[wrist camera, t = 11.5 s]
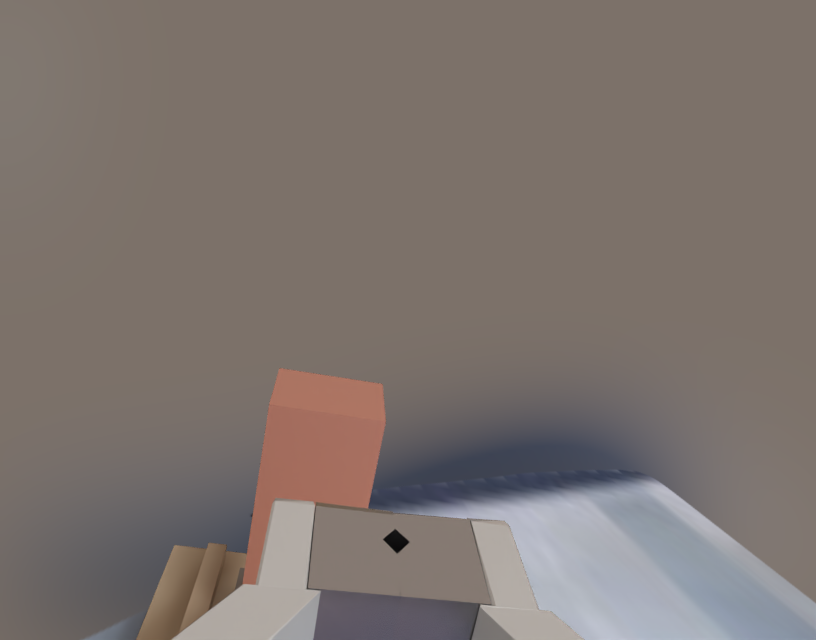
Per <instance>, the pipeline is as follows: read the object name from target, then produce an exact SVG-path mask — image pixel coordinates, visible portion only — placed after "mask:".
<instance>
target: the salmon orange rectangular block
mask: <svg viewBox="0 0 816 640" xmlns="http://www.w3.org/2000/svg"><path fill="white" fill-rule="evenodd" d="M385 424H386V417H385V407H384V395H383V384H379V383H372V382H366V381H359V380H353V379H347V378H340V377H334V376H327V375H321V374H314V373H308V372H301V371H295V370H288V369H282V368H279V372H278V375H277V379H276V382H275V386H274V390H273V393H272V397H271V400H270V404H269V409H268V417H267V423H266V430H265V437H264V443H263V450H262V456H261V463H260V470H259V476H258V483H257V490H256V497H255V503H254V511H253V517H252V524H251V530H250V537H249V543H248V551H247V557H246V564H245V568H240V570H239V574H238V578H237V583H236V587H235V590H236V589H237V588H238V587H240V586H241V585H242V584H251V585H255V584H256V579H257V575H258V570H259V565H260V560H261V555H262V551H263V546H264V541H265V536H266V532H267V527H268V522H269V517H270V512H271V508H272V503H273V501H274V500H275V498H283V499H293V500H303V501H313V502H314V504H315V505H316V502H319V503H327V504H335V505H343V506H351V507H359V508H367V509H368V505H369V500H370V496H371V491H372V486H373V481H374V476H375V471H376V467H377V462H378V457H379V452H380V447H381V442H382V438H383V433H384V428H385Z"/></svg>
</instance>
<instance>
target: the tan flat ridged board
mask: <svg viewBox="0 0 816 640" xmlns="http://www.w3.org/2000/svg"><path fill="white" fill-rule="evenodd" d="M226 548H227V545H224V544H215V543H209V544H208V546H207V549H204V548H195V547H187V546H178V545H174V547H173V550H172V552H171V555H170V557H169V560H168V562H167V565H166V567H165V570H164V572H163V575H162V577H161V579H160V582H159V584H158V587H157V590H156V592H155V594H154V597H153V600H152V602H151V604H150V607H149V609H148V611H147V614H146V616H145V619H144V621H143V624H142V626H141V629H140V631H139V634H138V636H137V639H136V640H171V639H172V638H174V637H175V636H176V635H178V634H179V633H180V632H181V631H183V630H184V629H185V628H187V627H188V626H189V625H190V624H192V623H193V622H194V621H196V620H197V619H198V618H200V617H201V616H202V615H203V614H205V613H206V612H207V611H209V610H210V609H211V608H212V607H214V606H215V605H216V604H218V603H219V602H220V601H221V600H223V599H224V598H225V597H227V596H228V595H229V594H231V593H232V592H233V591H234V590H235V587H236V583H237V578H238V574H239V570H240V568H245V564H246V557H247V554H246V553H236V552H229V551H226Z"/></svg>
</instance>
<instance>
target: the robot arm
mask: <svg viewBox="0 0 816 640" xmlns="http://www.w3.org/2000/svg"><path fill="white" fill-rule="evenodd" d="M171 640H584V639H583V638H582V637H581V636H579V635H578V634H577V633H576V632H575V631H574V630H572V629H571V628H570V627H569V626H568V625H566V624H565V623H564V622H563V621H562V620H561V619H559V618H558V617H557V616H556V615H555V614H553V613H552V612H551V611H544V610H539V608H538V605H537V603H536V600H535V597H534V594H533V591H532V588H531V586H530V583H529V580H528V577H527V574H526V572H525V569H524V566H523V563H522V560H521V557H520V555H519V552H518V549H517V546H516V543H515V540H514V538H513V535H512V532H511V529H510V526H509V525H508V524H507V523H506V522H505V521H498V520H483V519H468V518H467V519H460V518H448V517H436V516H425V515H413V514H401V513H393V512H391V511H383V510H375V509H367V508H359V507H351V506H343V505H335V504H327V503H319V502H316V505H315V504H314V502H313V501H303V500H293V499H283V498H275V500H274V501H273V503H272V508H271V512H270V517H269V522H268V527H267V532H266V536H265V541H264V546H263V551H262V555H261V560H260V565H259V570H258V575H257V579H256V584H255V585H251V584H242V585H241V586H240V587H238V588H237V589H236V590H234V591H233V592H232V593H231V594H229V595H228V596H227V597H225V598H224V599H223V600H221V601H220V602H219V603H218V604H216V605H215V606H214V607H212V608H211V609H210V610H209V611H207V612H206V613H205V614H203V615H202V616H201V617H200V618H198V619H197V620H196V621H194V622H193V623H192V624H190V625H189V626H188V627H187V628H185V629H184V630H183V631H181V632H180V633H179V634H178V635H176V636H175V637H174V638H172V639H171Z"/></svg>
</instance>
